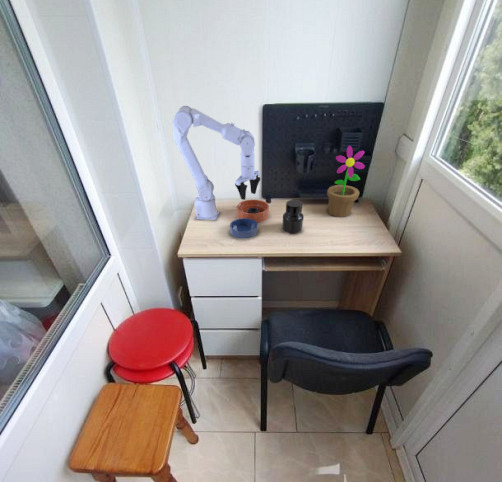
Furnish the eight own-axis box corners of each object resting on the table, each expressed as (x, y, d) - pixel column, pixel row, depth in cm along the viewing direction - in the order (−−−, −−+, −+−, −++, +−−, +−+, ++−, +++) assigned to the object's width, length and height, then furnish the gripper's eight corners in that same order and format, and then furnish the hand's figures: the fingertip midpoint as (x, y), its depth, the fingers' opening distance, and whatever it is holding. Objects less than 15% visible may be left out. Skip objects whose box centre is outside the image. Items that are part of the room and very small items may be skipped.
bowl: (234, 223, 131) (234, 213, 127) (240, 208, 142) (239, 198, 138) (267, 225, 129) (267, 214, 126) (270, 210, 140) (270, 200, 136)
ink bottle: (306, 230, 125) (310, 204, 117) (292, 236, 121) (294, 210, 113) (291, 221, 131) (294, 196, 122) (277, 227, 127) (278, 202, 119)
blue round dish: (228, 238, 121) (227, 231, 119) (233, 224, 130) (232, 217, 127) (255, 240, 120) (255, 232, 118) (259, 226, 129) (259, 218, 126)
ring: (247, 217, 134) (247, 212, 132) (248, 212, 137) (248, 207, 135) (257, 218, 133) (257, 212, 131) (258, 213, 136) (258, 207, 135)
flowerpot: (323, 217, 133) (335, 147, 113) (324, 204, 143) (336, 137, 123) (354, 220, 131) (372, 149, 110) (353, 206, 141) (370, 139, 120)
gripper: (244, 171, 115) (245, 204, 124) (265, 162, 123) (264, 193, 132) (231, 168, 118) (232, 199, 127) (252, 159, 126) (252, 189, 135)
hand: (248, 196), depth 130 cm, fingers open, 7 cm apart
